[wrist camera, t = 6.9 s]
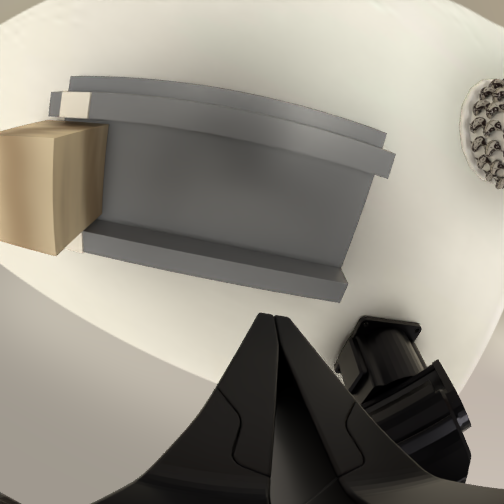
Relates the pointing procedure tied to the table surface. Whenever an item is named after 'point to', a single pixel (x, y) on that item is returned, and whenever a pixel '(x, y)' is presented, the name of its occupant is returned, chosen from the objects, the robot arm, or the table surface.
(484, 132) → the banded tower model
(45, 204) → the block
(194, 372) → the table surface
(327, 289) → the chute
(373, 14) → the table surface
